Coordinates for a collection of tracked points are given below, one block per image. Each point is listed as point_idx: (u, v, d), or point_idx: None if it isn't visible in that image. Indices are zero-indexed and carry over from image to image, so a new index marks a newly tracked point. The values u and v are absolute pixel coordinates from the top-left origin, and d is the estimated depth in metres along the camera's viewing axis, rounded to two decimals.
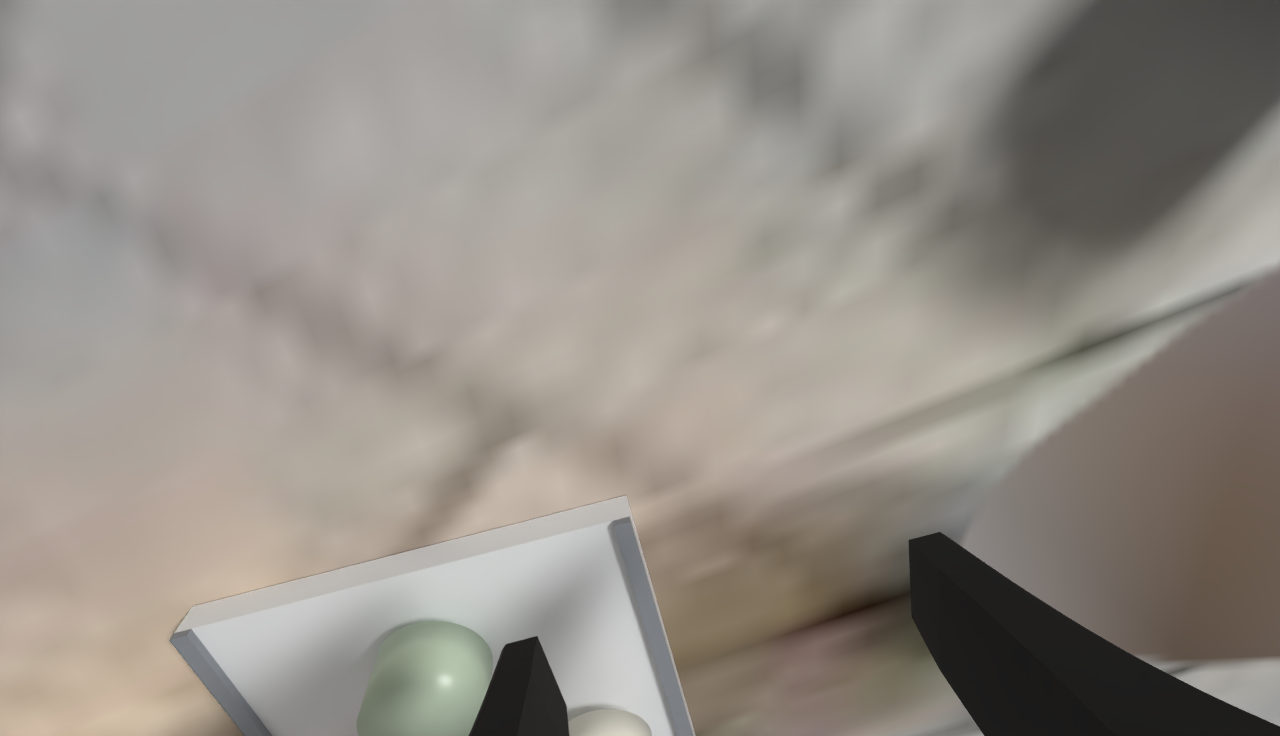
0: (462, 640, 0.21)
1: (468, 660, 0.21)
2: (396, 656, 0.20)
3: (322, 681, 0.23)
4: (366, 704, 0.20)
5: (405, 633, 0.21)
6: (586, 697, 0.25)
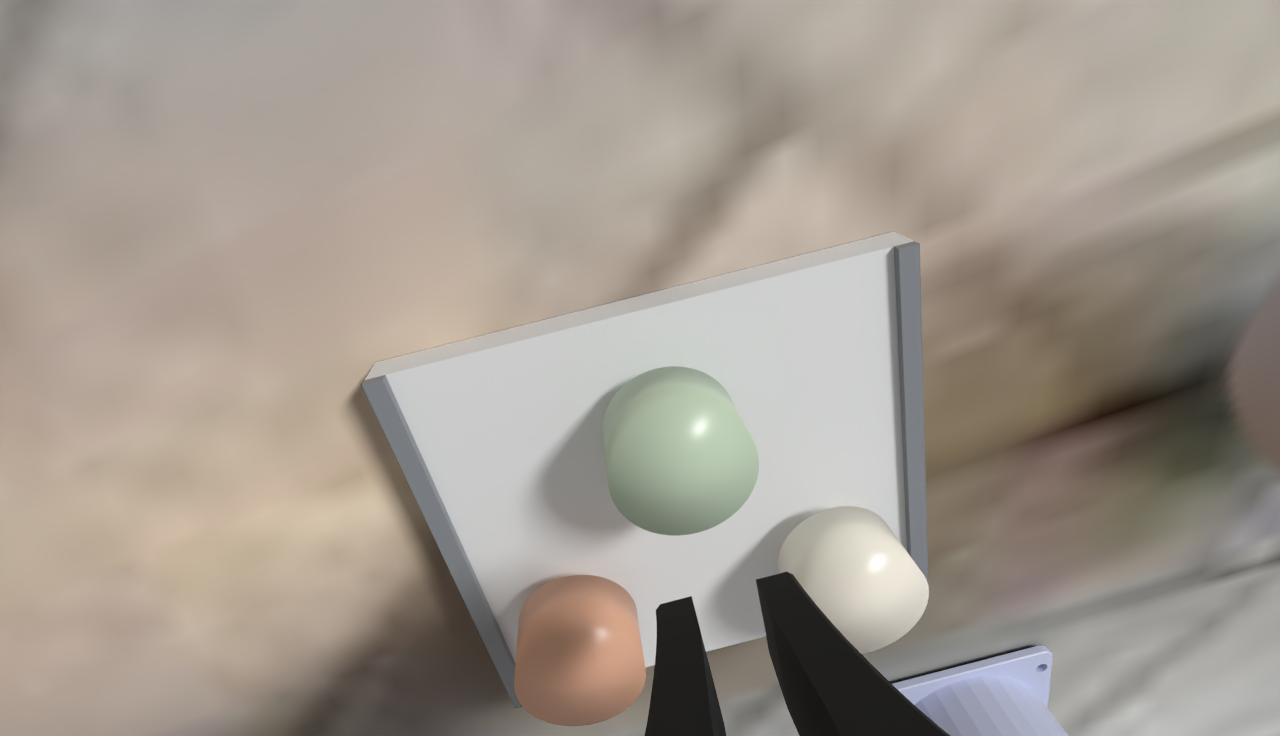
0: (716, 386, 0.18)
1: (730, 404, 0.17)
2: (649, 392, 0.17)
3: (524, 459, 0.19)
4: (626, 437, 0.16)
5: (648, 376, 0.18)
6: (816, 499, 0.21)
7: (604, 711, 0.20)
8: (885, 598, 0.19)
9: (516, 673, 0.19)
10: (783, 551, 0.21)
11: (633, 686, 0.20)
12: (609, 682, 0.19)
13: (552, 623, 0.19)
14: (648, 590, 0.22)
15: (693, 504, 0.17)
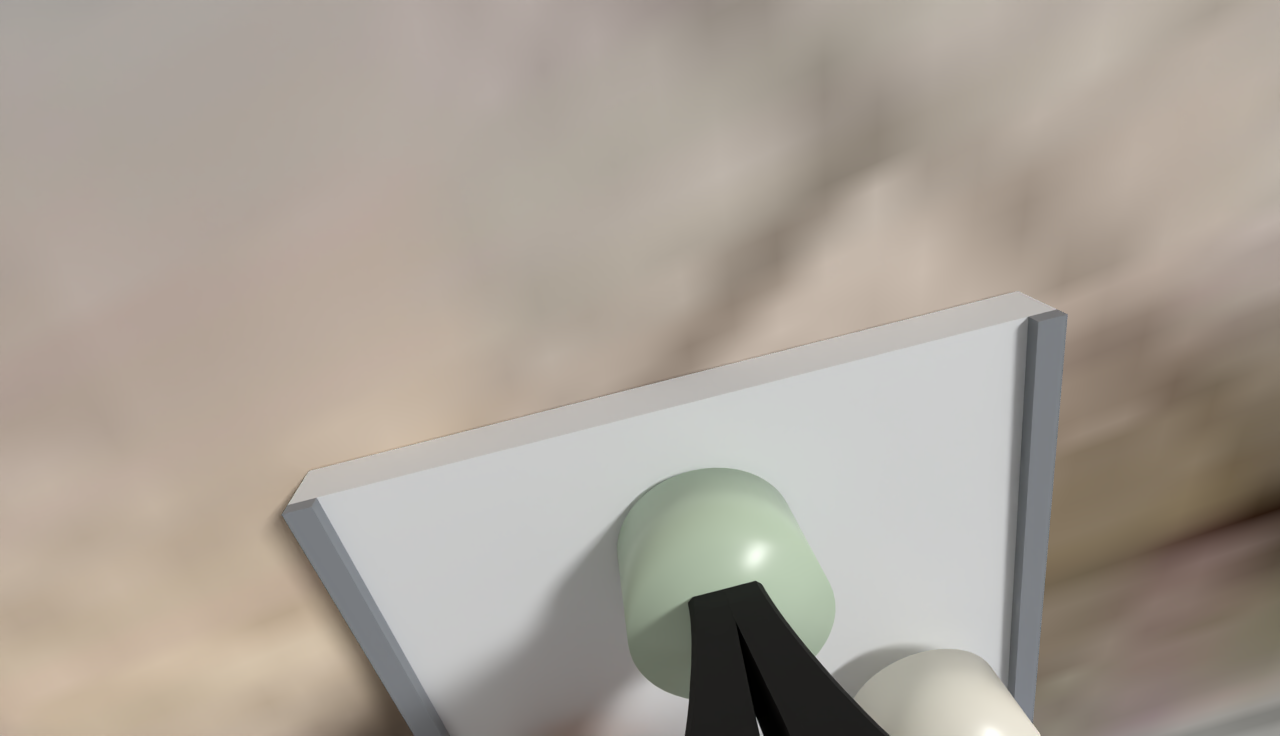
0: (772, 496, 0.13)
1: (794, 524, 0.13)
2: (684, 513, 0.12)
3: (513, 598, 0.14)
4: (654, 585, 0.11)
5: (681, 483, 0.13)
6: (898, 633, 0.16)
7: None
8: None
9: None
10: None
11: None
12: None
13: None
14: None
15: None
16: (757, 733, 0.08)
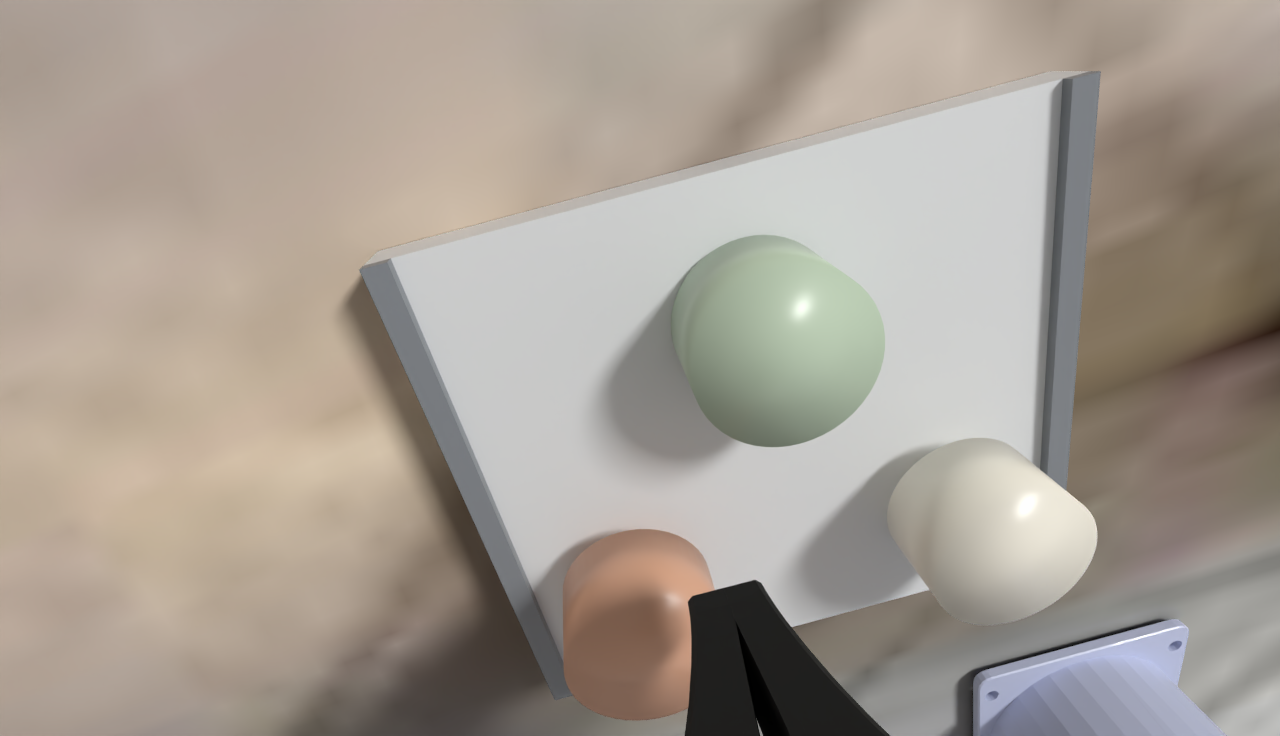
0: None
1: None
2: (740, 258, 0.13)
3: (571, 378, 0.15)
4: (717, 307, 0.12)
5: (734, 244, 0.14)
6: (934, 432, 0.17)
7: (677, 701, 0.16)
8: (1041, 551, 0.15)
9: (566, 652, 0.15)
10: (896, 496, 0.17)
11: None
12: (685, 663, 0.15)
13: (611, 587, 0.15)
14: (721, 551, 0.18)
15: (798, 405, 0.13)
16: (757, 733, 0.08)
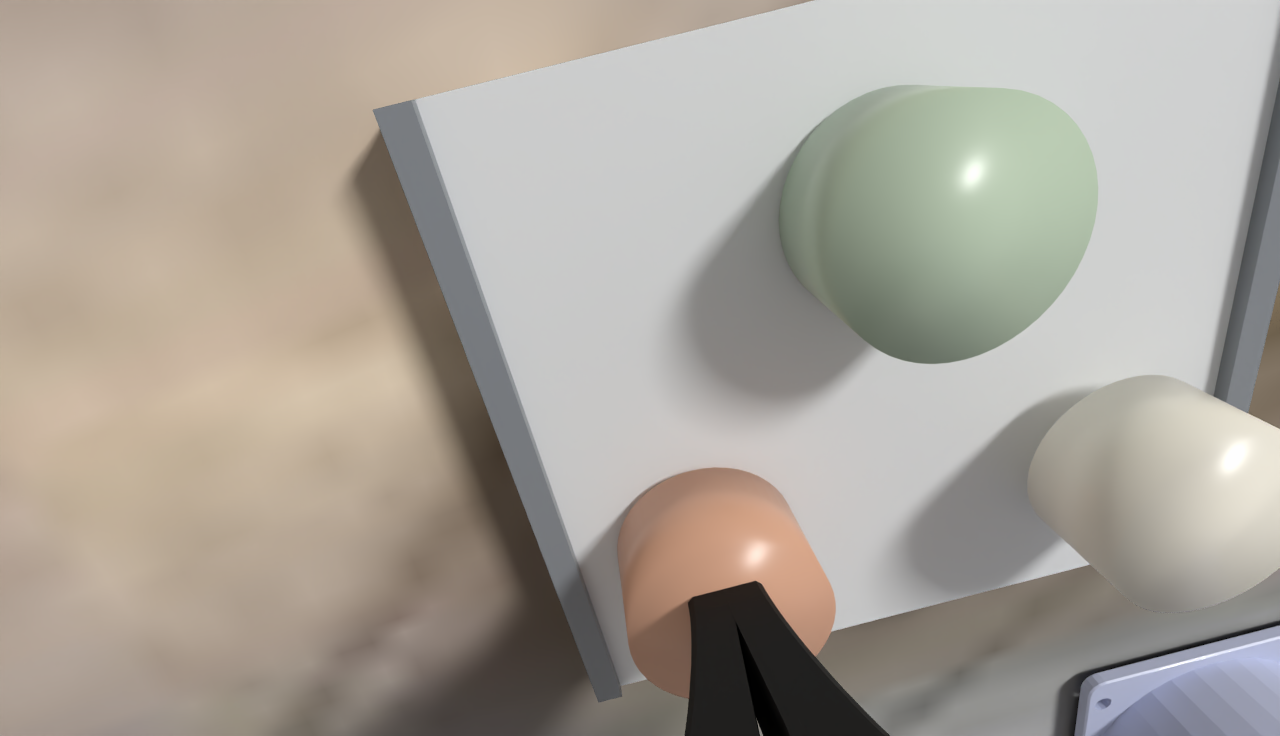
0: None
1: None
2: (896, 98, 0.09)
3: (644, 282, 0.12)
4: (880, 150, 0.09)
5: (876, 92, 0.10)
6: (1088, 371, 0.14)
7: None
8: (1256, 515, 0.11)
9: (633, 612, 0.12)
10: (1046, 449, 0.13)
11: (812, 637, 0.12)
12: None
13: (690, 531, 0.12)
14: (812, 519, 0.14)
15: (968, 303, 0.10)
16: (757, 733, 0.08)
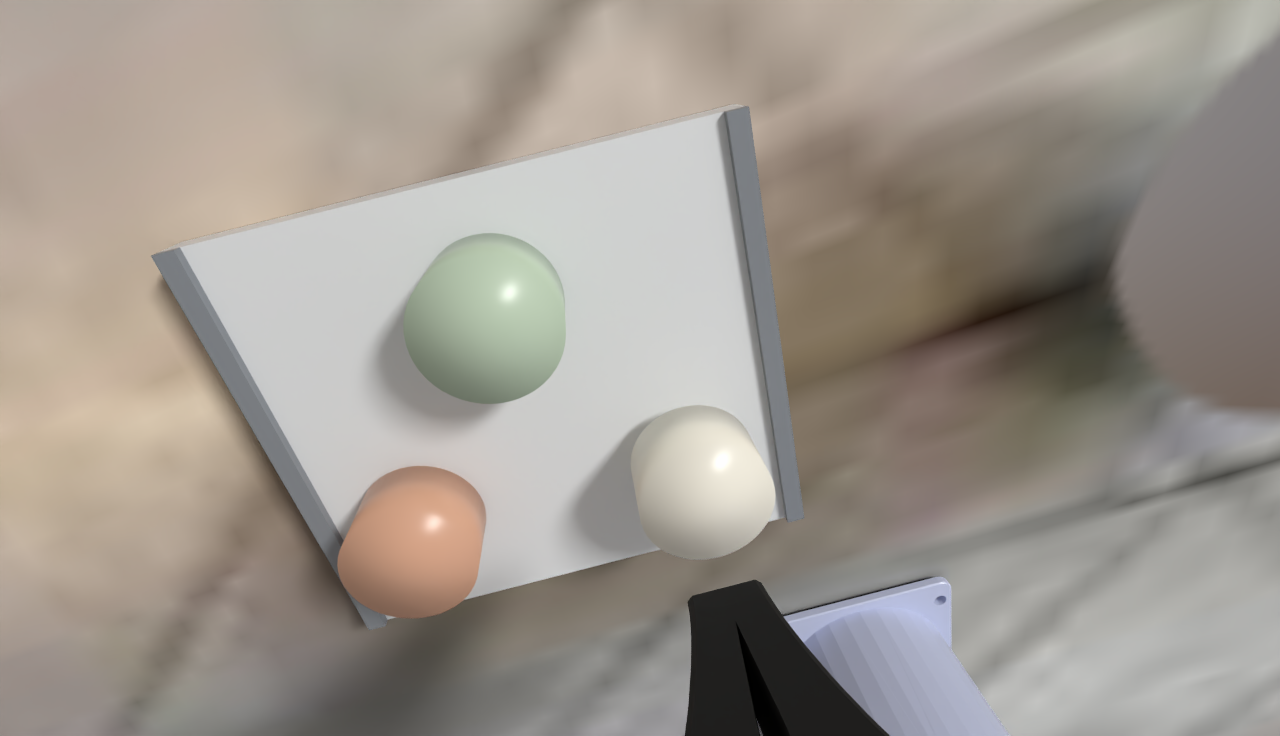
0: (532, 251, 0.17)
1: (541, 266, 0.17)
2: (452, 251, 0.16)
3: (346, 349, 0.18)
4: (417, 288, 0.15)
5: (461, 240, 0.17)
6: (672, 401, 0.20)
7: (439, 602, 0.19)
8: (728, 495, 0.18)
9: (338, 557, 0.18)
10: (633, 454, 0.20)
11: (466, 575, 0.19)
12: (440, 570, 0.19)
13: (377, 506, 0.18)
14: (501, 501, 0.21)
15: (501, 369, 0.16)
16: (757, 733, 0.08)
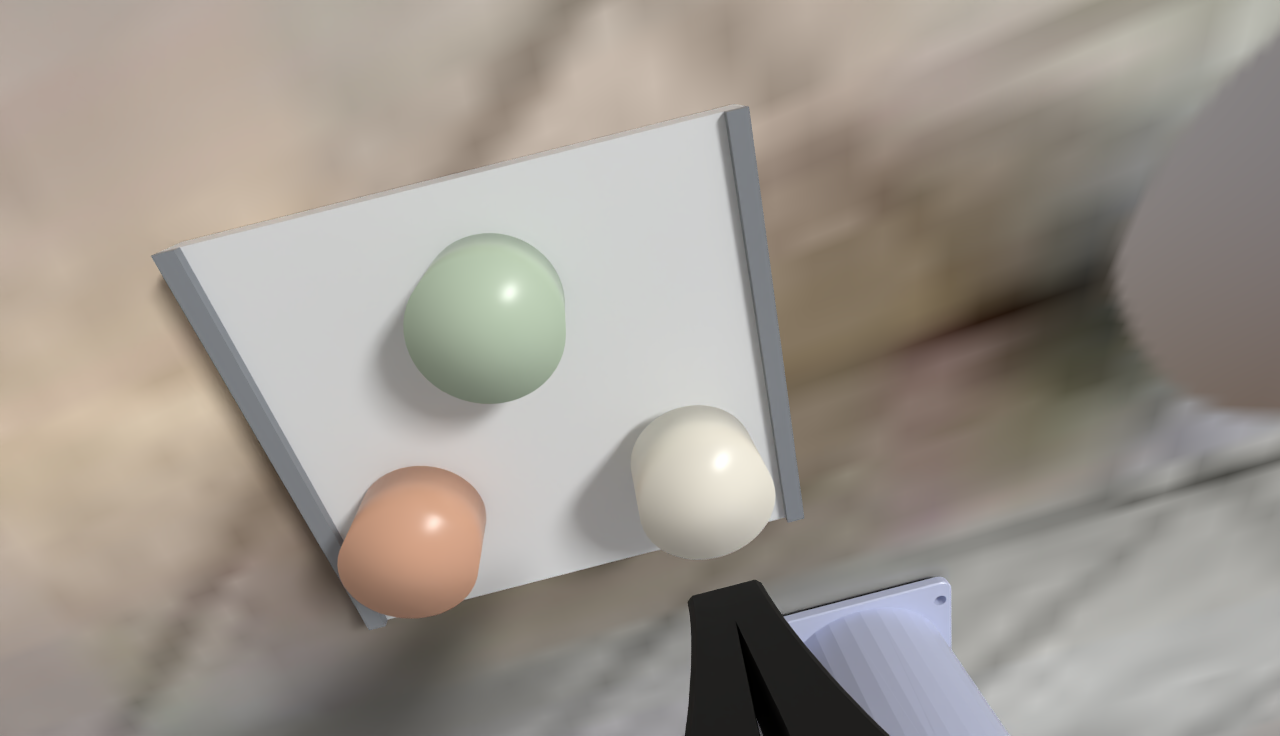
0: (532, 251, 0.17)
1: (541, 266, 0.17)
2: (452, 251, 0.16)
3: (346, 349, 0.18)
4: (417, 288, 0.15)
5: (461, 240, 0.17)
6: (672, 401, 0.20)
7: (439, 602, 0.19)
8: (728, 495, 0.18)
9: (338, 557, 0.18)
10: (633, 454, 0.20)
11: (466, 575, 0.19)
12: (440, 570, 0.19)
13: (376, 506, 0.18)
14: (500, 501, 0.21)
15: (501, 369, 0.16)
16: (757, 733, 0.08)
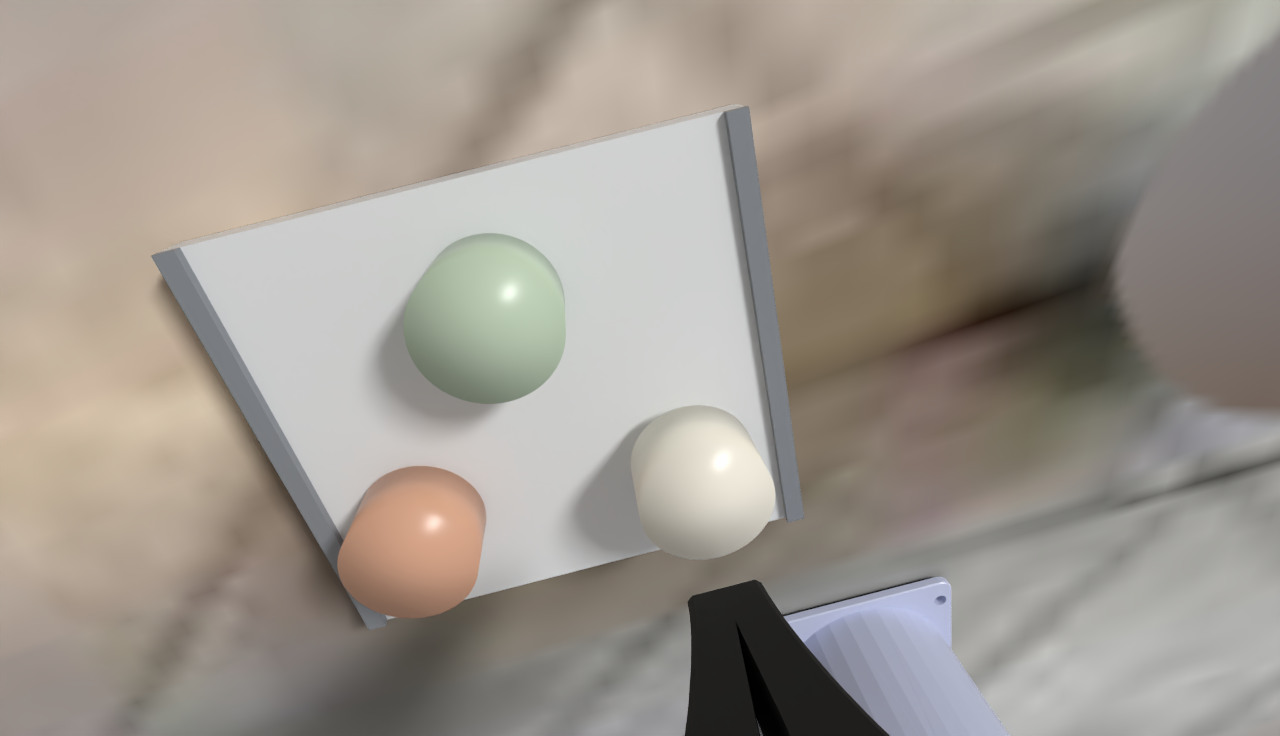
0: (532, 251, 0.17)
1: (541, 266, 0.17)
2: (452, 251, 0.16)
3: (346, 349, 0.18)
4: (417, 288, 0.15)
5: (461, 240, 0.17)
6: (672, 401, 0.20)
7: (439, 602, 0.19)
8: (728, 495, 0.18)
9: (338, 557, 0.18)
10: (633, 454, 0.20)
11: (466, 575, 0.19)
12: (440, 570, 0.19)
13: (376, 506, 0.18)
14: (500, 501, 0.21)
15: (501, 369, 0.16)
16: (757, 733, 0.08)
